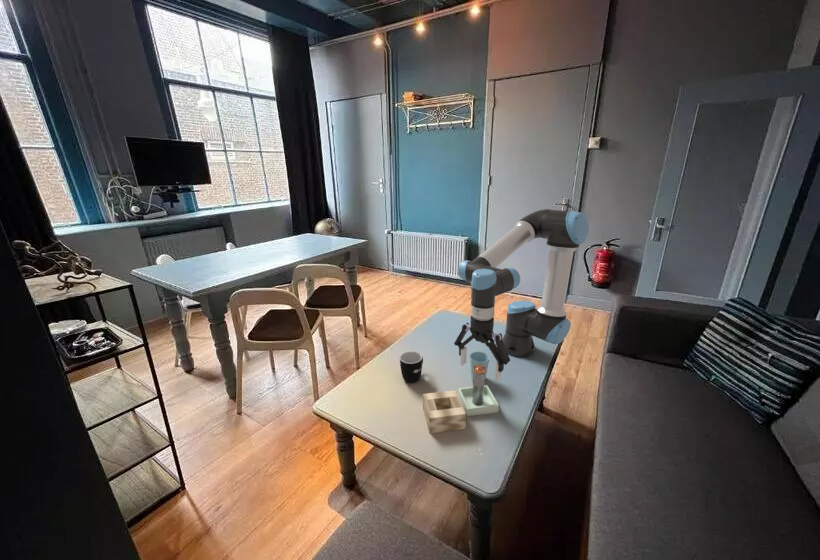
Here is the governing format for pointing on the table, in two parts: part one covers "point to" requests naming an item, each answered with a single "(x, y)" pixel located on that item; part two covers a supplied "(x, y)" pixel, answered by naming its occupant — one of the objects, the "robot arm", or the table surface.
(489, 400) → the tray
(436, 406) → the eye block
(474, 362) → the cup
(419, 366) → the mug
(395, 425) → the table surface
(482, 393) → the peg
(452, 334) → the table surface
